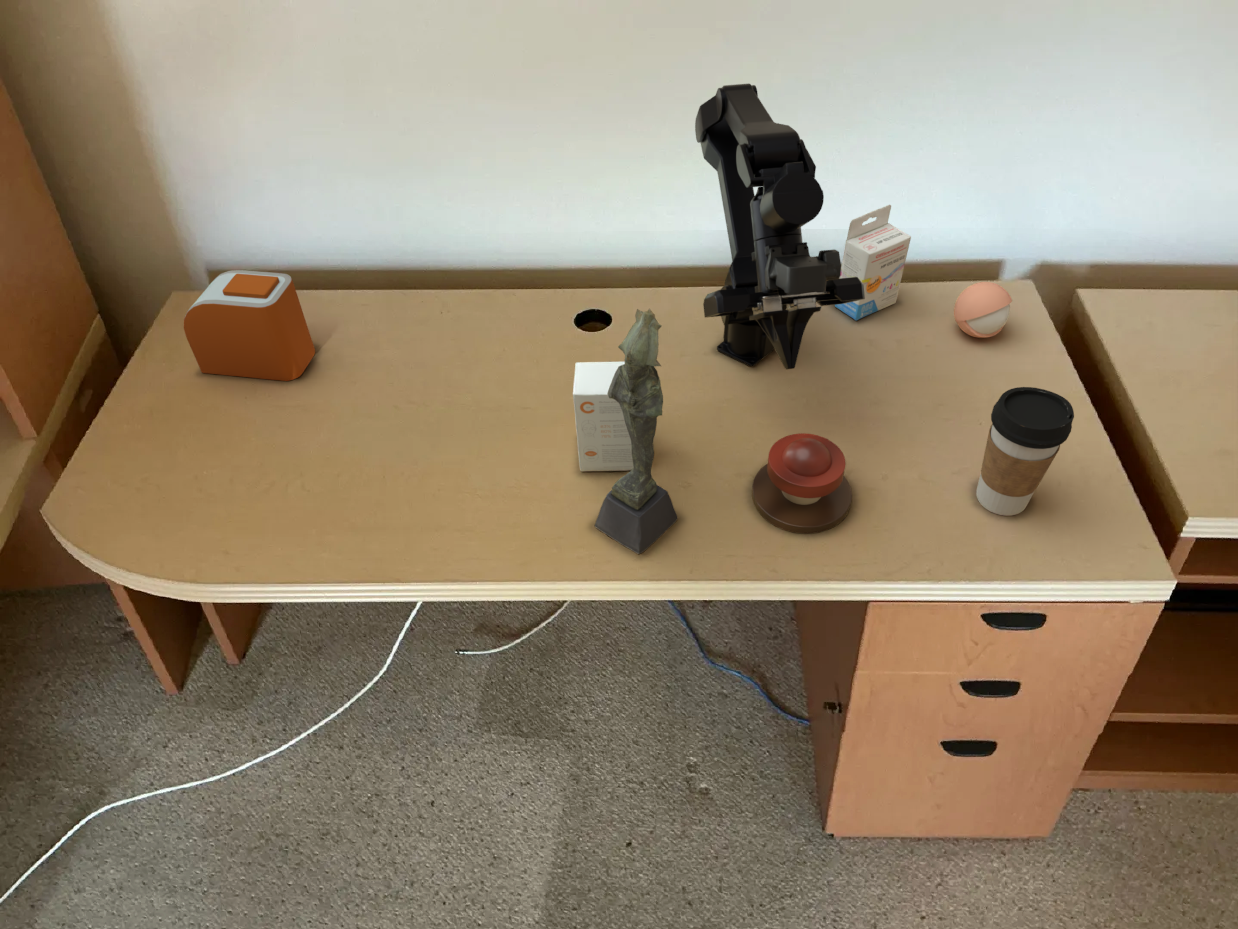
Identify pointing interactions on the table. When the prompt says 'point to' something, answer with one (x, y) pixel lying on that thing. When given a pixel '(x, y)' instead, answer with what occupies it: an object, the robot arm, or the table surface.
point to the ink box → (874, 262)
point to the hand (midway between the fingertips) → (790, 368)
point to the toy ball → (982, 309)
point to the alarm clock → (250, 327)
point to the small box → (599, 420)
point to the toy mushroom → (803, 485)
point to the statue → (638, 444)
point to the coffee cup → (1021, 447)
